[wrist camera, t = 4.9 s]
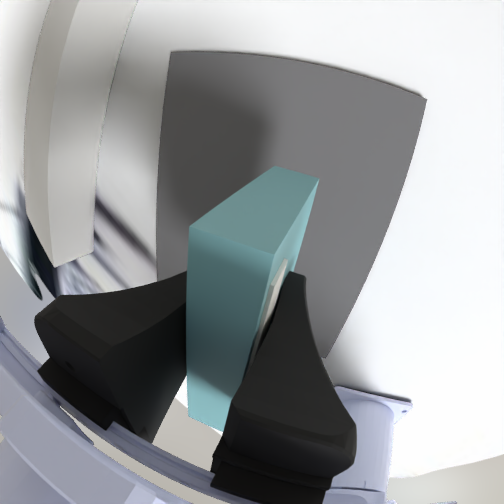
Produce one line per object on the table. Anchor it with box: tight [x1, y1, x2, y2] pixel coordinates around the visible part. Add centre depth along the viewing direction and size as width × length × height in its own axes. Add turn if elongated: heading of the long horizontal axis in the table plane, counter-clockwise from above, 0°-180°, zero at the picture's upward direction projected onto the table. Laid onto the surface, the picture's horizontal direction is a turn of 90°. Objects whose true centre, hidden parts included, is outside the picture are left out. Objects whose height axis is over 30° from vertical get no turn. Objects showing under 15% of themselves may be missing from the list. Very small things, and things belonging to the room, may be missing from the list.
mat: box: [157, 52, 427, 358], centre depth 16 cm, size 18×14×1 cm
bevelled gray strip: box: [24, 0, 138, 268], centre depth 14 cm, size 34×5×10 cm
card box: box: [186, 166, 319, 432], centre depth 10 cm, size 9×2×6 cm, turn 170°
